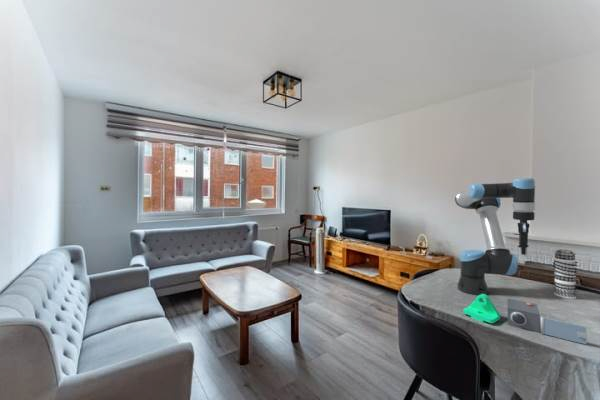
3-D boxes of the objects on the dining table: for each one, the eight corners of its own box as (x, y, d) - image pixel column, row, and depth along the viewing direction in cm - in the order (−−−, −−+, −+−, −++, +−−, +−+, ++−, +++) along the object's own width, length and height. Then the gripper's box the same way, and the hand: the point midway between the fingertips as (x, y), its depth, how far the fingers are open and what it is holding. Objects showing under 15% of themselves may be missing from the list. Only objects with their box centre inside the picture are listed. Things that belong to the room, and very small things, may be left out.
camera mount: (462, 315, 117) (462, 293, 117) (470, 310, 121) (470, 290, 121) (492, 326, 106) (492, 302, 106) (500, 321, 110) (500, 298, 110)
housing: (507, 326, 106) (507, 307, 106) (507, 314, 116) (507, 297, 116) (540, 334, 99) (540, 314, 99) (537, 320, 109) (537, 302, 109)
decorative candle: (581, 300, 128) (580, 253, 128) (556, 297, 133) (555, 251, 133) (573, 294, 136) (573, 249, 136) (550, 291, 141) (550, 248, 141)
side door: (540, 332, 100) (540, 316, 100) (586, 343, 92) (586, 326, 92) (540, 333, 99) (540, 317, 99) (587, 345, 91) (587, 327, 91)
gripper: (512, 209, 123) (512, 256, 124) (513, 212, 113) (513, 262, 114) (532, 210, 118) (532, 258, 119) (536, 212, 108) (535, 265, 109)
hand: (523, 260), depth 117 cm, fingers closed
